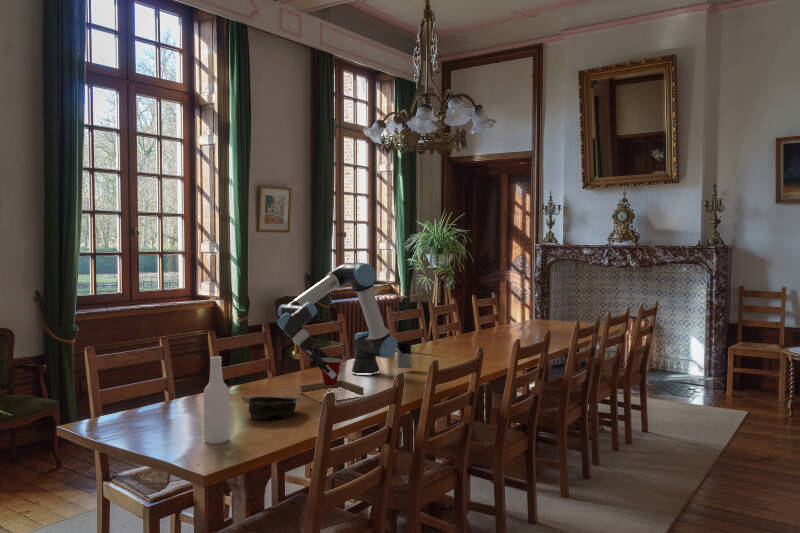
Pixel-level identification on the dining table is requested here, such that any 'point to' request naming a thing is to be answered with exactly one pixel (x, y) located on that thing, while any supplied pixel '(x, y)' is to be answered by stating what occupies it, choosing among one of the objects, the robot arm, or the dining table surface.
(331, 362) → the plastic cup
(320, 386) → the tray
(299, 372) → the dining table surface
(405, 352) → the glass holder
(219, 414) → the alcohol
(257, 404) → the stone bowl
